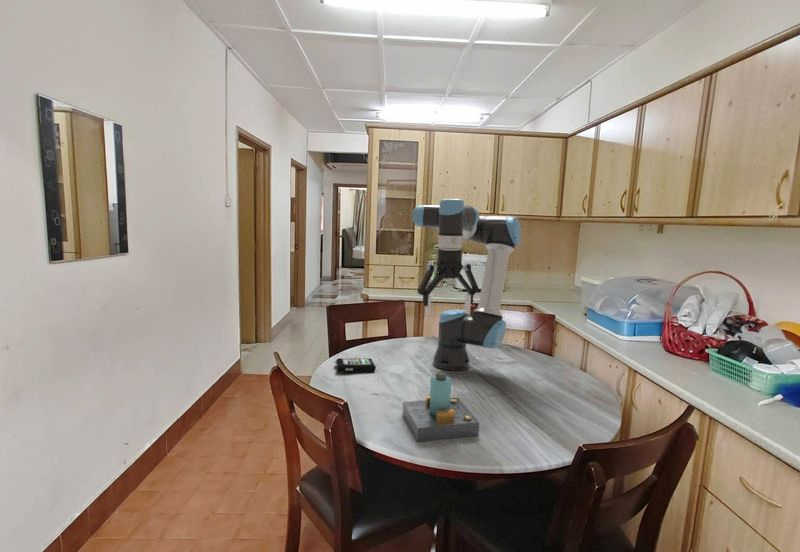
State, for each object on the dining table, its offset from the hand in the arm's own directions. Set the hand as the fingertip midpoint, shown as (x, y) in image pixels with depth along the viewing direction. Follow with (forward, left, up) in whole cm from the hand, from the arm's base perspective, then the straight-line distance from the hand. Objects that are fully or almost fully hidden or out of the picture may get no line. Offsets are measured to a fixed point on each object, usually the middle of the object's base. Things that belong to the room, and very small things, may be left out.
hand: (447, 314), depth 130 cm
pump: (+6, +14, -26) cm, 30 cm away
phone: (+25, -35, -30) cm, 52 cm away
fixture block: (+6, +14, -30) cm, 33 cm away
